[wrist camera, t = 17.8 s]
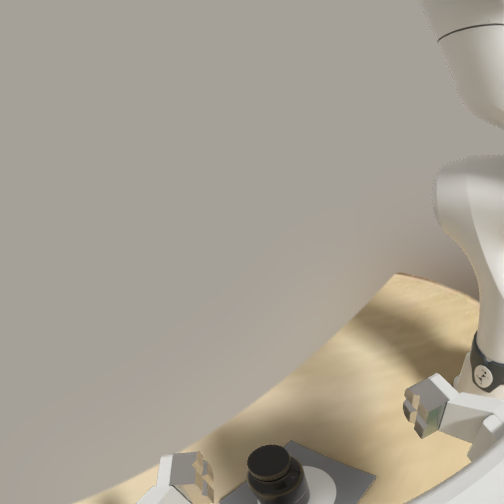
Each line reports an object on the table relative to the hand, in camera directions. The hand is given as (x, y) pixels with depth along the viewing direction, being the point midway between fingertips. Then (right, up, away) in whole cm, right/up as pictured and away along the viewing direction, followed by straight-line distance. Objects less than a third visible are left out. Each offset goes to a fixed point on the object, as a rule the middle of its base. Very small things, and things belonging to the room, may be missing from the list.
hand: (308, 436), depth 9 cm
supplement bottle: (+3, -27, +19) cm, 33 cm away
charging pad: (+4, -28, +19) cm, 34 cm away
